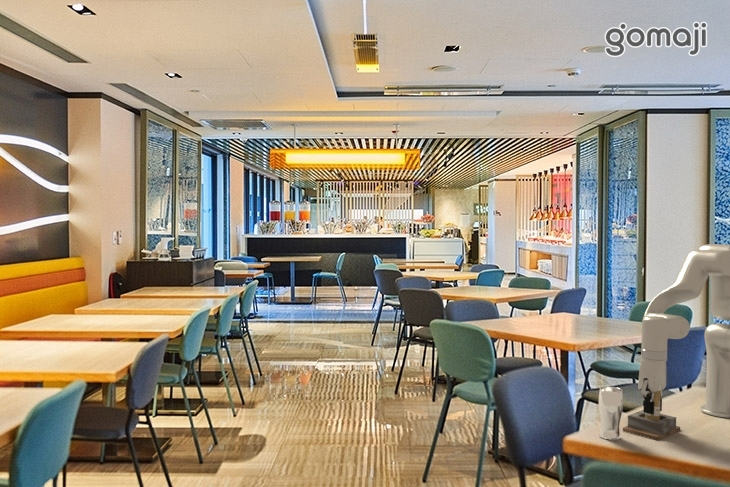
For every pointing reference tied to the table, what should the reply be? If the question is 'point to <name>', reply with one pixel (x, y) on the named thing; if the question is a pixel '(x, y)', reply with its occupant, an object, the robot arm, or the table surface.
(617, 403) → the beer glass
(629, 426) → the socket holder
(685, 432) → the table surface
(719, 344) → the robot arm
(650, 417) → the sprinkles bottle
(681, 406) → the table surface
